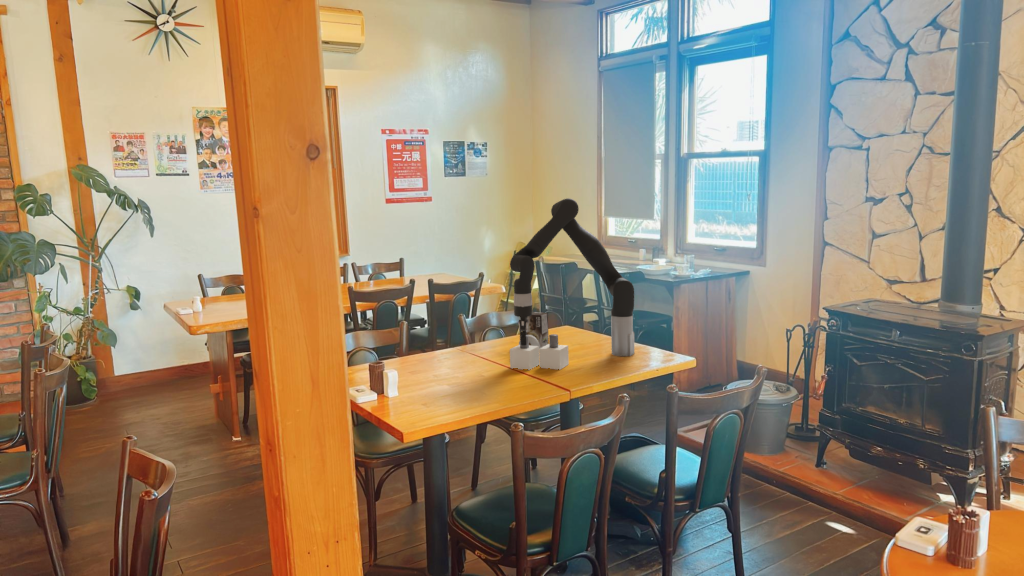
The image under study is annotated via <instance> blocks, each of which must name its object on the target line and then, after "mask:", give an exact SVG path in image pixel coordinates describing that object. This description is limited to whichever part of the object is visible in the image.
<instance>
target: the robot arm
mask: <svg viewBox="0 0 1024 576" xmlns="http://www.w3.org/2000/svg"><path fill="white" fill-rule="evenodd" d="M579 208H580V207H579V204H578V203H577V201H576V200H574V199H573V198H569V197H568V198H567V197H566V198H564V199H561V200H560V201H559V200H558V201H556V202H555V203H554V204H553V205H552V206H551V209H550V210H551V211H550V213H551V216H552V217H551V219H549V220H548V222H546V224H544V225H543V226H542V227H541V228H540V229H539V230H538V231H537V232H536V233H535V234H534V235H533V236H532V238H531V239H530V240H529V241H528V242H527V244H526V245H525V246H523V247H522V248H520V249H519V250H518V251H517V252H515V254H514V255H513V256H512V257H511V259H510V261H509V262H510V263H509V267H510V269H511V271H513V272H516V273H519V277H518V278H516V279H515V280H514V281H513V292H514V295H513V315H514V316H515V317H517V318H518V317H519V318H520V319H518V330H519V337H520V336H521V345H526V335H527V331H528V319H527V316H531V315H532V314H533V313H532V312H533V295H532V294H533V293H532V282H533V276H534V273H535V260H533V259H536V258H538V257H540V256H541V255H542V253H543V252H545V250H546V249H547V247H548V246H549V245H550V244H551V242H552V241H553V240H554V238H556V236H557V235H558V234H559V233H560V232H561V231H562V230H563V231H564V232H565V233H566V235H567V236H568V237H569V238H570V239H571V242H573V244H574V245H575V247H577V249H578V250H579V251H580V253H581V255H582V256H583V257H584V259H585V260H586V261H587V263H588V264H589V265H590V266H591V267H592V269H593V270H594V271H595V272H596V273H597V274H598V276H599V277H600V278H601V279H602V281H603V283H604V284H605V286H606V288H607V290H608V292H609V293H610V295H611V296H612V308H611V310H610V311H611V312H610V317H611V318H610V320H611V321H610V323H611V324H610V326H611V327H610V329H611V330H610V331H611V335H610V337H611V355H613V356H617V357H632V355H634V354H635V331H634V325H633V324H634V322H633V321H634V320H633V319H634V318H633V317H634V316H633V313H634V309H635V288H634V285H633V283H632V282H631V280H628V279H626V278H625V277H624V276H622V275H621V273H620V272H619V271H618V270H617V269H616V267H615V265H614V264H613V262H612V260H611V257H610V255H609V254H608V252H607V249H606V248H605V247H604V246H603V244H602V242H601V241H600V240H599V239H598V238H597V237H596V236H595V235H594V234H592V232H589V231H588V230H586V228H584V227H583V226H581V225H580V223H579V222H578V221H577V219H576V217H577V215H578V214H579V210H580V209H579Z"/></svg>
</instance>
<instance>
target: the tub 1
mask: <svg viewBox="0 0 1024 576" xmlns="http://www.w3.org/2000/svg"><path fill="white" fill-rule="evenodd" d="M519 341H520V345H519V344H518V345H516V346H514V347H511V348H509V365H510V367H509V368H510V369H513V368H518V369H517V370H523V369H528V370H527V371H531V370H533V369H535V368H537V367H538V365H539V366H540V357H539V346H530V345H529V336H528V335H526V345H521V336H520V335H519ZM536 366H537V367H536ZM534 367H535V368H534ZM532 368H533V369H532ZM530 369H531V370H530Z"/></svg>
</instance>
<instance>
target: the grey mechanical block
mask: <svg viewBox="0 0 1024 576" xmlns="http://www.w3.org/2000/svg"><path fill="white" fill-rule="evenodd" d="M532 313H533V314H532V315H531V316H527V319H528V331H527V335H532V336H534V337H535V338H536V339H537V340H538V342H539V346H540V348H542V347H543V346H545V345H547V344H549V335H550V334H549V313H548V312H542V311H541V312H540V311H539V312H538V311H532ZM529 345H530V346H532V345H531V343H529ZM540 348H539V349H540Z"/></svg>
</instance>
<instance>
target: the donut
mask: <svg viewBox="0 0 1024 576" xmlns="http://www.w3.org/2000/svg"><path fill="white" fill-rule="evenodd" d="M528 336H529V343H531V345H532V346H539V342H538V340H537V339H536V338H535V337H534V336H532V335H528ZM518 345H520V340H519V341H518ZM539 348H540V346H539Z"/></svg>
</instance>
